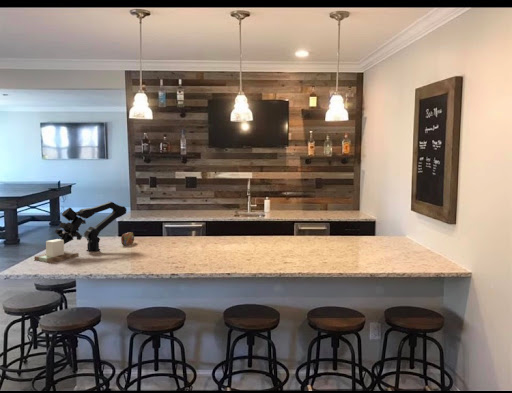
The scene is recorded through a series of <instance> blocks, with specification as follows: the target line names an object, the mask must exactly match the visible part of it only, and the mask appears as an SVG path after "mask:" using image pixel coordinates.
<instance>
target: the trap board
mask: <svg viewBox="0 0 512 393" xmlns="http://www.w3.org/2000/svg"><path fill="white" fill-rule="evenodd" d="M42 256H46V253H44V254H39V255H35V256H33V257H34V260H35V261H39V257H42ZM76 257H79V252H74V251H68V250H64V254H63V255H59V256H56V257H51V258H47V262H46V263H56V262H60V261H64V260H68V259H71V258H72V259H73V258H76Z"/></svg>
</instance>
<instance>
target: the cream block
mask: <svg viewBox="0 0 512 393" xmlns="http://www.w3.org/2000/svg"><path fill="white" fill-rule="evenodd" d="M64 251H65V244H64V240H61V239H60V238H59V239H58V238H56V239H49V240H46V241H45V254H46V256H51V257H55V256H59V255H63V254H64Z"/></svg>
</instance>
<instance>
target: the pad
mask: <svg viewBox="0 0 512 393" xmlns="http://www.w3.org/2000/svg"><path fill="white" fill-rule="evenodd" d="M55 257H56V256H55ZM47 258H51V256H42V257H39V260H38V261H40V262H45V263H48V262H47Z"/></svg>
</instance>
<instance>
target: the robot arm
mask: <svg viewBox="0 0 512 393" xmlns="http://www.w3.org/2000/svg"><path fill="white" fill-rule="evenodd" d="M108 209H111V210H112V212H111V213H110V214H109V215H107V217H105V218H104V219H103V220H101V221H100V222H99V223H98V224H97V225H95V226H94V227H93V226H89V227H88V228H87V229H86V230H85V231H84V233H83V236H82V234H81V233H80V232H79V231H80V230H79V228H80V227H81V225H86V224H87V222H86V219H89V218H91V217H93V215H95V214H97V213H100V212H103V211H106V210H108ZM126 214H127V208H126V207H125V206H122V205H119V204H116V203H114V202H113V201H108V202H105V203H101V204H98V205H96V206H94V207H86V208H81V209H79V210H78V211H74V210H73V209H72V207H68V208H66V209H65V210H63V211H62V213H61V216H62V217H63V218H65V219H66V221H68V222H67V223H66V222H59V226H58V228H56V229H55V230H54V233H55V234H56V236H58V237H59V238H61V240H64V245H65V244H68V243H69V242H71V241H74V238H76V240H77V241H81V239H82V238H83V237H84V238H85V239H86V240H87V244H86V246H87V247H86V248H87V249H86V252H97V251H100V250H101V249H100V241H101V238H100V237H99V235H100V233H101V231H103V230H104V229H105V228H106V227H107V226H109V225H110V224H111V223H113V221H115V220H116V219H118V218H120V217H122V216H124V215H126ZM70 221H71V222H70Z"/></svg>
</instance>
